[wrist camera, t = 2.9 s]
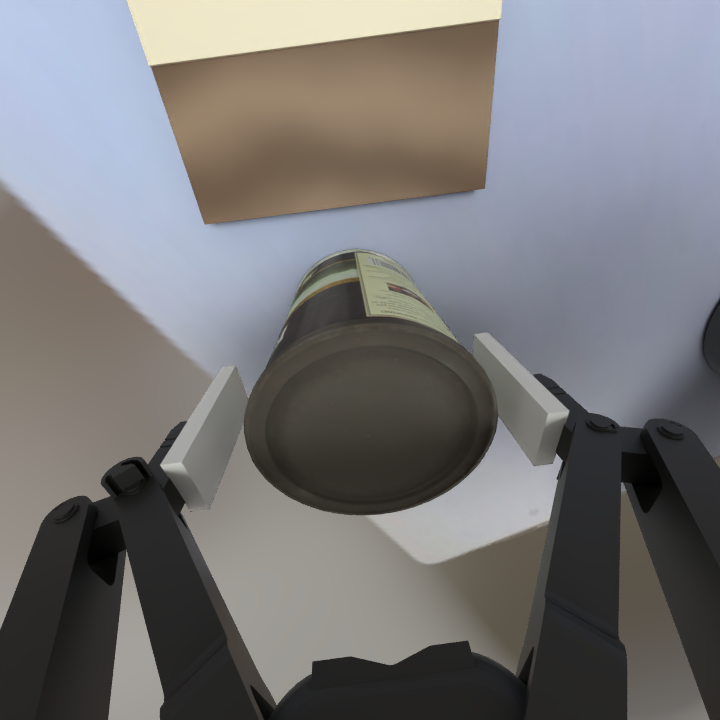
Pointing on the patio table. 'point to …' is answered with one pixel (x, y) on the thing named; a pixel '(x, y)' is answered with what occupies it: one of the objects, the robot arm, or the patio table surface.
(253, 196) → the board
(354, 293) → the coffee can
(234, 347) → the patio table surface
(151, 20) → the strip
